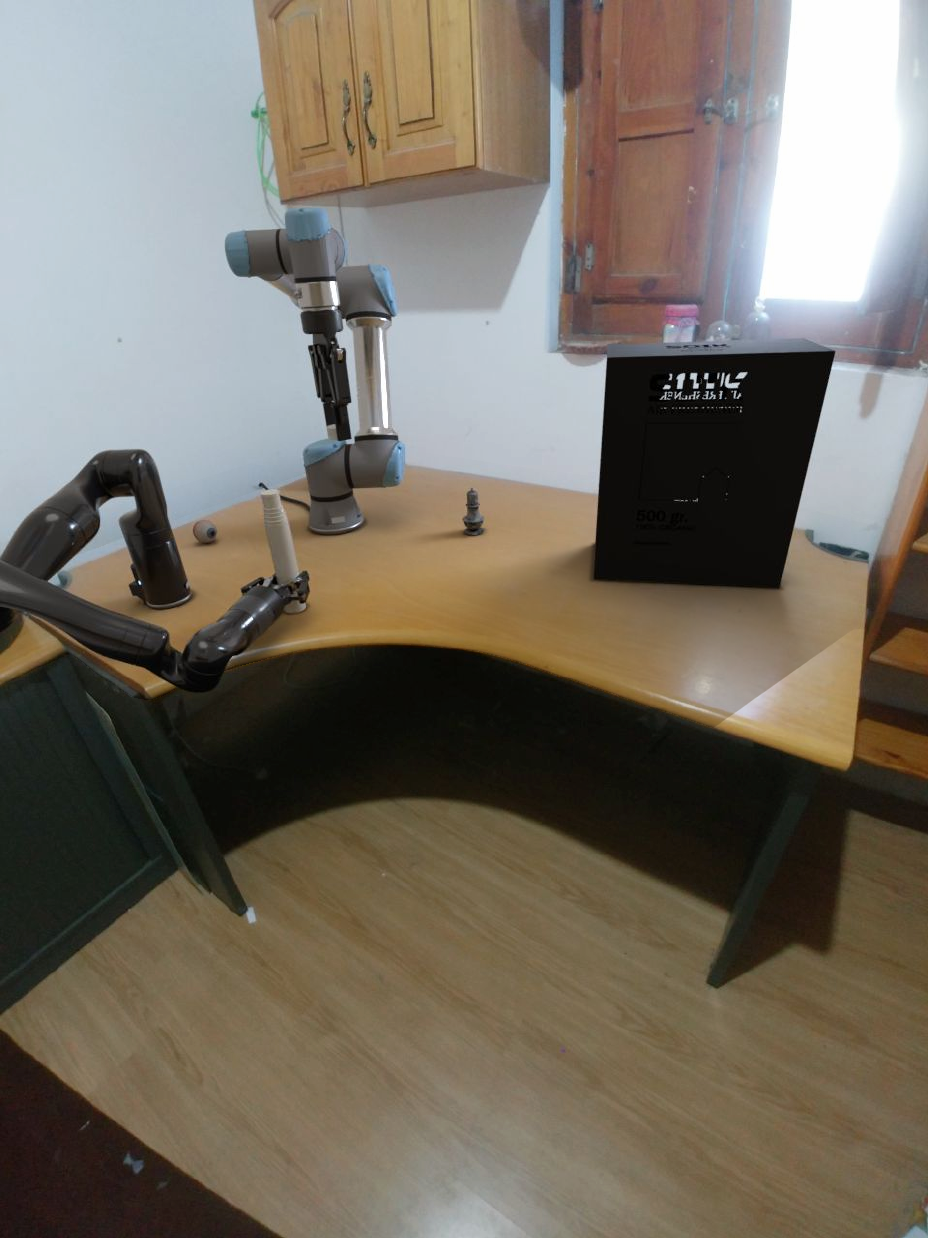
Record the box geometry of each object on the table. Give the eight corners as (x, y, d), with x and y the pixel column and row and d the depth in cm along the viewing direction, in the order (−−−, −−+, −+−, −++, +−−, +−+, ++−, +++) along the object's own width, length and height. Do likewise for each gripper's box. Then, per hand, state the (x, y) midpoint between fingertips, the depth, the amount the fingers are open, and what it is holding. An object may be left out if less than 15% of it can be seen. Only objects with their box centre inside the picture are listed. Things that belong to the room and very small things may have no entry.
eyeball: (206, 547, 159) (200, 526, 156) (191, 543, 162) (185, 522, 159) (225, 539, 164) (219, 518, 161) (210, 536, 167) (204, 515, 164)
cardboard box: (759, 548, 141) (803, 338, 119) (779, 587, 124) (835, 350, 102) (595, 543, 149) (607, 344, 126) (593, 579, 132) (607, 357, 109)
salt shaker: (482, 535, 157) (481, 491, 151) (460, 535, 158) (458, 490, 152) (486, 527, 162) (485, 483, 156) (465, 526, 163) (463, 483, 157)
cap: (355, 436, 122) (353, 425, 121) (335, 441, 120) (333, 429, 119) (343, 433, 125) (341, 422, 124) (324, 437, 123) (322, 426, 122)
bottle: (302, 613, 126) (277, 495, 113) (280, 613, 126) (253, 496, 113) (308, 602, 130) (285, 487, 117) (287, 603, 130) (261, 488, 117)
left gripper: (224, 628, 116) (267, 588, 130) (293, 633, 113) (329, 591, 127) (214, 593, 112) (260, 556, 127) (285, 598, 109) (323, 559, 124)
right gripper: (285, 309, 116) (307, 433, 128) (318, 311, 103) (339, 448, 114) (321, 307, 119) (340, 427, 131) (358, 308, 106) (374, 441, 118)
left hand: (294, 574), depth 127 cm, fingers closed on bottle, 4 cm apart
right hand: (339, 437), depth 123 cm, fingers closed on cap, 4 cm apart
